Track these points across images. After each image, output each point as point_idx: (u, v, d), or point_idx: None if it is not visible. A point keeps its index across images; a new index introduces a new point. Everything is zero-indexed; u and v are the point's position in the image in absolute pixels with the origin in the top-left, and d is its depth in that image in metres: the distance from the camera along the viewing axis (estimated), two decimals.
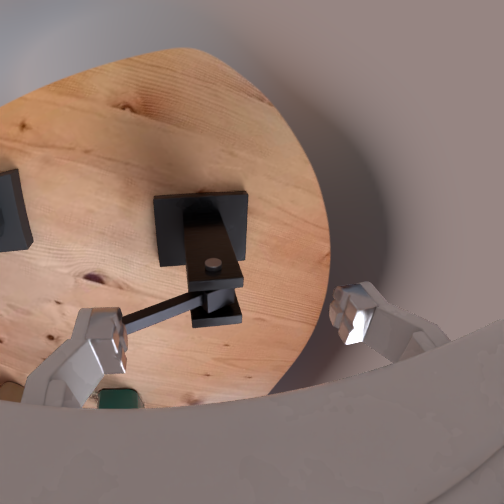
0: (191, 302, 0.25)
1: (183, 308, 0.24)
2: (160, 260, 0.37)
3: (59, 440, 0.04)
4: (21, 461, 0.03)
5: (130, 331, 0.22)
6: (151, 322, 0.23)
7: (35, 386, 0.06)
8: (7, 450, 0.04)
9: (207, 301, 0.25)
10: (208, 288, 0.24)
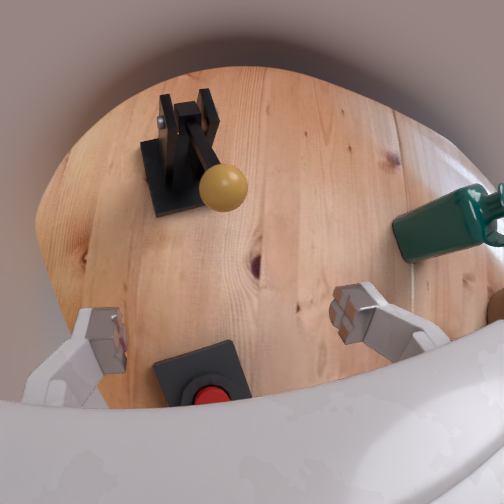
0: (191, 126, 0.26)
1: (196, 129, 0.26)
2: None
3: (59, 440, 0.04)
4: (21, 461, 0.03)
5: (215, 159, 0.23)
6: (207, 146, 0.24)
7: (35, 386, 0.06)
8: (7, 450, 0.04)
9: (188, 114, 0.26)
10: (172, 115, 0.25)
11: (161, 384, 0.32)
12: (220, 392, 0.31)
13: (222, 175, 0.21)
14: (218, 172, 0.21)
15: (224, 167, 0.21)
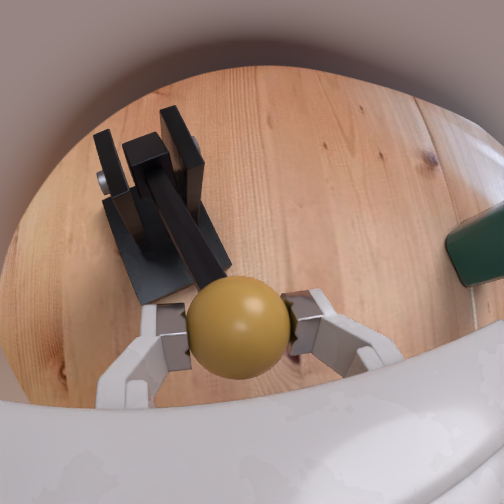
0: (154, 181, 0.14)
1: (164, 188, 0.14)
2: None
3: (59, 440, 0.04)
4: (21, 461, 0.03)
5: (209, 257, 0.11)
6: (187, 226, 0.12)
7: (110, 389, 0.06)
8: (7, 450, 0.04)
9: (145, 159, 0.14)
10: (117, 168, 0.14)
11: None
12: None
13: (232, 322, 0.09)
14: (221, 314, 0.09)
15: (232, 297, 0.09)
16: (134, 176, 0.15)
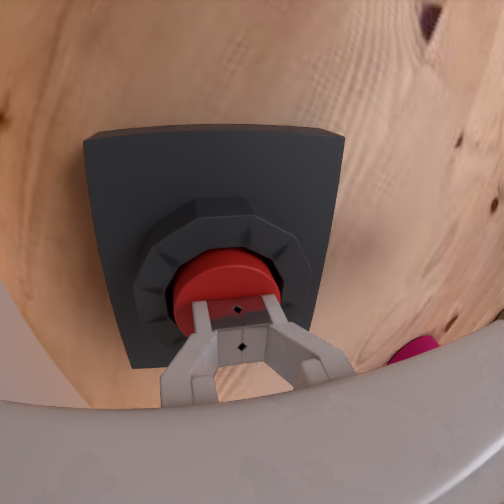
0: None
1: None
2: None
3: (59, 440, 0.04)
4: (21, 461, 0.03)
5: None
6: None
7: (175, 386, 0.07)
8: (7, 450, 0.04)
9: None
10: None
11: (93, 204, 0.10)
12: (265, 278, 0.11)
13: None
14: None
15: None
16: None
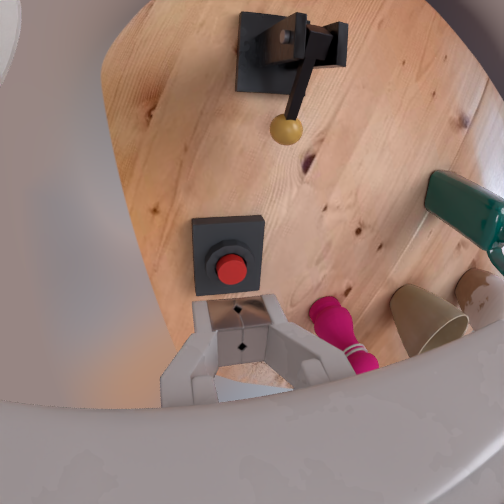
0: (306, 65, 0.24)
1: (307, 72, 0.24)
2: None
3: (59, 440, 0.04)
4: (21, 461, 0.03)
5: (296, 111, 0.29)
6: (300, 96, 0.27)
7: (175, 386, 0.07)
8: (7, 450, 0.04)
9: (311, 57, 0.22)
10: (303, 42, 0.20)
11: (194, 241, 0.41)
12: (242, 263, 0.41)
13: (286, 141, 0.31)
14: (285, 139, 0.30)
15: (291, 138, 0.30)
16: None
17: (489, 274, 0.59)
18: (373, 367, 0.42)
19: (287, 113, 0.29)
